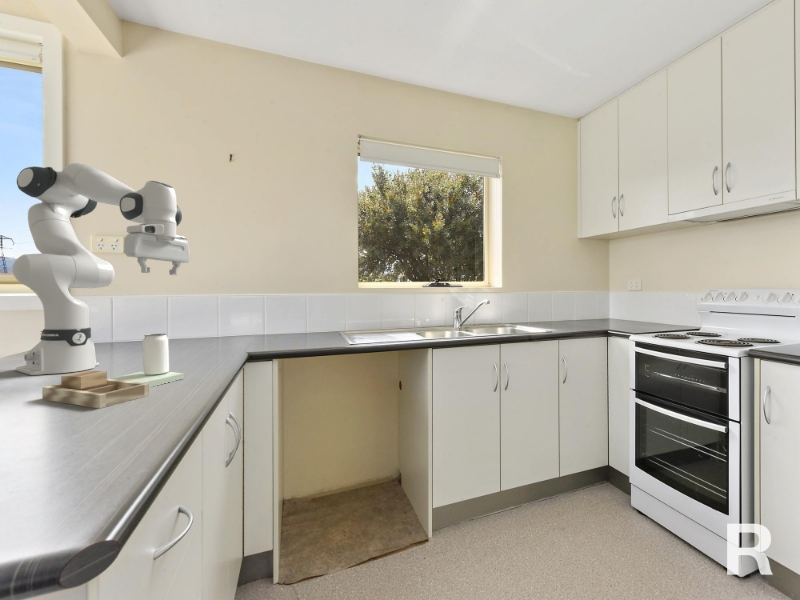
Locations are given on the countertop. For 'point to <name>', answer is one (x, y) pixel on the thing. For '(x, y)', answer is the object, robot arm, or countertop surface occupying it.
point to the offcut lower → (92, 387)
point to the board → (150, 378)
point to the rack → (97, 394)
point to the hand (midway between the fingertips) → (159, 274)
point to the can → (155, 354)
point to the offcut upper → (83, 379)
